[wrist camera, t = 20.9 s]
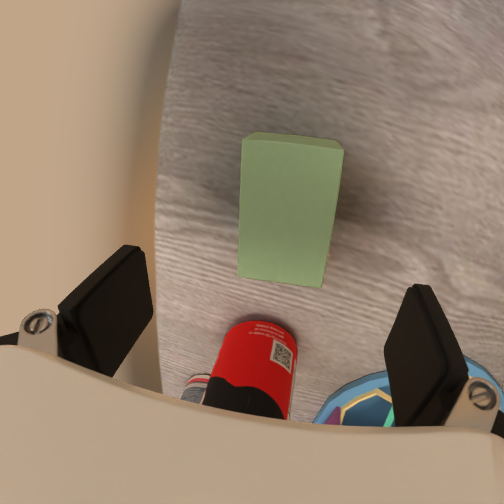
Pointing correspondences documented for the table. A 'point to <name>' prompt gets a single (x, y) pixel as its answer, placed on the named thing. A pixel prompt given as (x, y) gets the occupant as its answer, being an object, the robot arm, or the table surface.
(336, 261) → the table surface
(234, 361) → the beverage can
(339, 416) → the stadium
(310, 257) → the sage pad
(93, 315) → the robot arm
